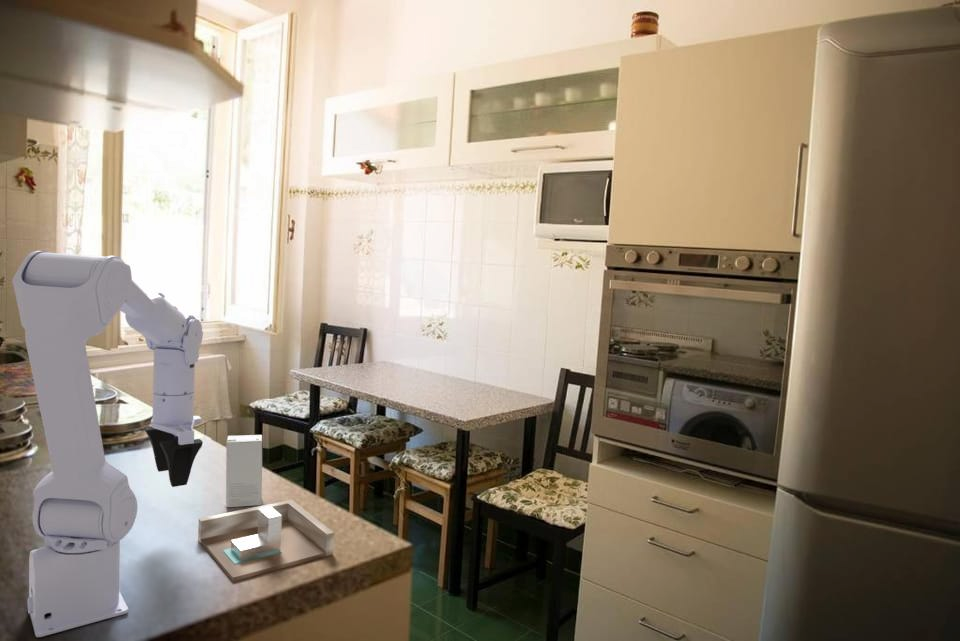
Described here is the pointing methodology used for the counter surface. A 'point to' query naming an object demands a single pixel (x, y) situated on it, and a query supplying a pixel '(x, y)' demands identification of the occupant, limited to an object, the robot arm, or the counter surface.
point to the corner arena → (298, 533)
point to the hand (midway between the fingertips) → (171, 477)
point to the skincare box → (244, 470)
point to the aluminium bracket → (260, 536)
